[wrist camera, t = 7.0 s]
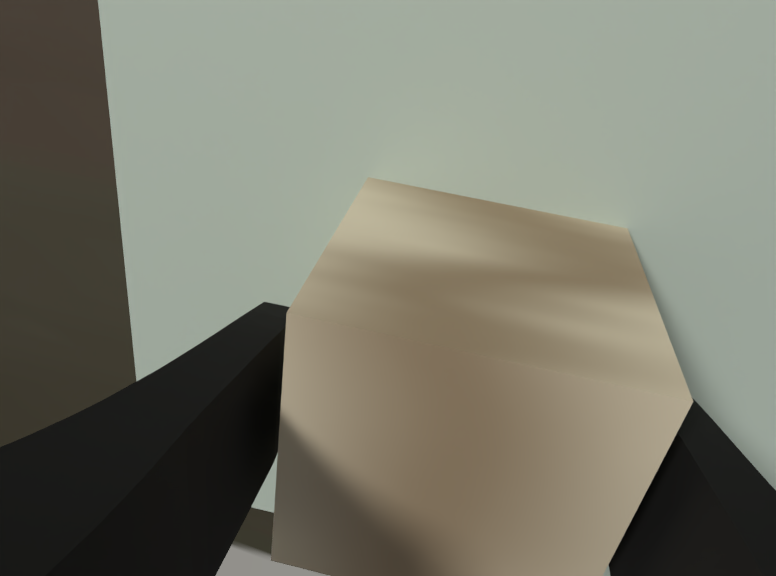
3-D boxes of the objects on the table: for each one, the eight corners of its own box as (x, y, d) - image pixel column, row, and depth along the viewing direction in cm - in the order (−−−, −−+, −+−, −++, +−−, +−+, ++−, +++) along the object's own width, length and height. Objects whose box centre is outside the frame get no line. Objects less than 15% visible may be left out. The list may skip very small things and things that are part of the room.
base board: (1003, -43, 10) (1140, -38, 8) (674, 529, 17) (696, 615, 15) (163, -169, 11) (78, -194, 9) (190, 417, 18) (146, 481, 16)
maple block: (627, 228, 10) (693, 401, 7) (554, 423, 13) (570, 636, 9) (367, 177, 11) (287, 312, 7) (342, 376, 13) (270, 560, 9)
